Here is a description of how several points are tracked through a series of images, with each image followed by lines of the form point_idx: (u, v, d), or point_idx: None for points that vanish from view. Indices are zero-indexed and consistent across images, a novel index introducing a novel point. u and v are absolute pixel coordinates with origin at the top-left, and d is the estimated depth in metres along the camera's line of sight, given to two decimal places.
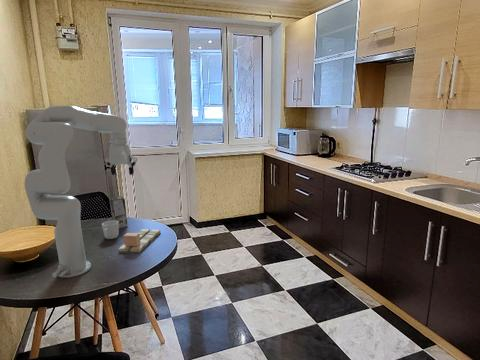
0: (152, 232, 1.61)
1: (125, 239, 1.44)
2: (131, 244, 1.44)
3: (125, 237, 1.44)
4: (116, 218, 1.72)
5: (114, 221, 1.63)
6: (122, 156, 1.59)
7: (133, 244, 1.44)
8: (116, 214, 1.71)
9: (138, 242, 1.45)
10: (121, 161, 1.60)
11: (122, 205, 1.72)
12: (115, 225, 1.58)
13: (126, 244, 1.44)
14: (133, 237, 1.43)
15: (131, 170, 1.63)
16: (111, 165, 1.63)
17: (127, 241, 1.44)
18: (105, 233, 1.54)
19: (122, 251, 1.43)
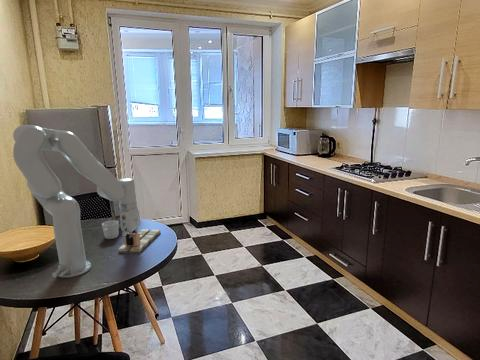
0: (152, 232, 1.61)
1: (125, 239, 1.44)
2: None
3: None
4: (116, 218, 1.72)
5: (114, 221, 1.63)
6: (138, 219, 1.45)
7: None
8: (116, 214, 1.71)
9: (138, 242, 1.45)
10: (137, 224, 1.45)
11: None
12: (115, 225, 1.58)
13: (126, 244, 1.44)
14: (133, 237, 1.43)
15: None
16: (131, 234, 1.42)
17: None
18: (105, 233, 1.54)
19: (122, 251, 1.43)
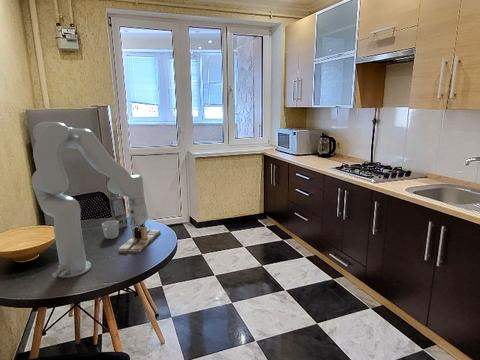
0: (152, 232, 1.61)
1: (133, 232, 1.51)
2: None
3: (133, 231, 1.51)
4: (116, 218, 1.72)
5: (114, 221, 1.63)
6: (145, 213, 1.53)
7: (141, 237, 1.51)
8: (116, 214, 1.71)
9: (145, 235, 1.53)
10: (145, 219, 1.52)
11: (122, 205, 1.72)
12: (115, 225, 1.58)
13: (134, 237, 1.52)
14: (141, 230, 1.50)
15: None
16: (139, 228, 1.49)
17: None
18: (105, 233, 1.54)
19: (122, 251, 1.43)
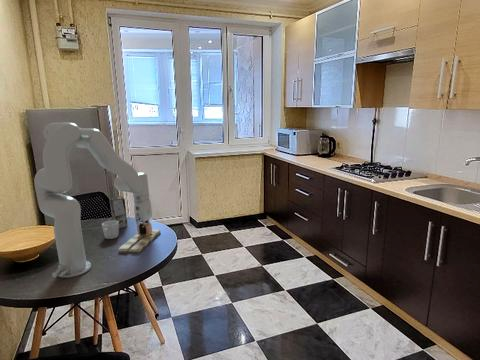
0: (152, 232, 1.61)
1: (138, 228, 1.56)
2: None
3: (138, 227, 1.56)
4: (116, 218, 1.72)
5: (114, 221, 1.63)
6: (150, 210, 1.58)
7: (146, 233, 1.56)
8: (116, 214, 1.71)
9: (150, 231, 1.58)
10: (150, 215, 1.57)
11: (122, 205, 1.72)
12: (115, 225, 1.58)
13: (139, 233, 1.57)
14: (146, 226, 1.55)
15: None
16: (144, 224, 1.54)
17: None
18: (105, 233, 1.54)
19: (122, 251, 1.43)
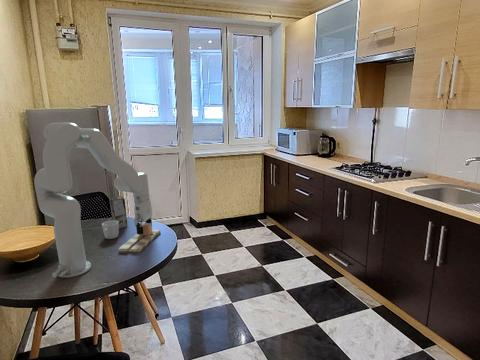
0: (152, 232, 1.61)
1: None
2: (144, 233, 1.56)
3: None
4: (116, 218, 1.72)
5: (114, 221, 1.63)
6: (150, 210, 1.58)
7: (146, 233, 1.56)
8: (116, 214, 1.71)
9: (150, 231, 1.58)
10: (150, 215, 1.57)
11: (122, 205, 1.72)
12: (115, 225, 1.58)
13: None
14: (146, 226, 1.55)
15: None
16: (141, 224, 1.52)
17: None
18: (105, 233, 1.54)
19: (122, 251, 1.43)
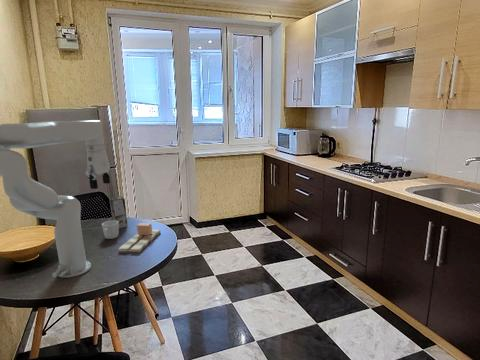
0: (152, 232, 1.61)
1: (138, 228, 1.56)
2: (144, 233, 1.56)
3: (138, 227, 1.56)
4: (116, 218, 1.72)
5: (114, 221, 1.63)
6: (106, 163, 1.42)
7: (146, 233, 1.56)
8: (116, 214, 1.71)
9: (150, 231, 1.58)
10: (106, 169, 1.42)
11: (122, 205, 1.72)
12: (115, 225, 1.58)
13: (139, 233, 1.57)
14: (146, 226, 1.55)
15: None
16: (95, 177, 1.37)
17: (140, 230, 1.56)
18: (105, 233, 1.54)
19: (122, 251, 1.43)
